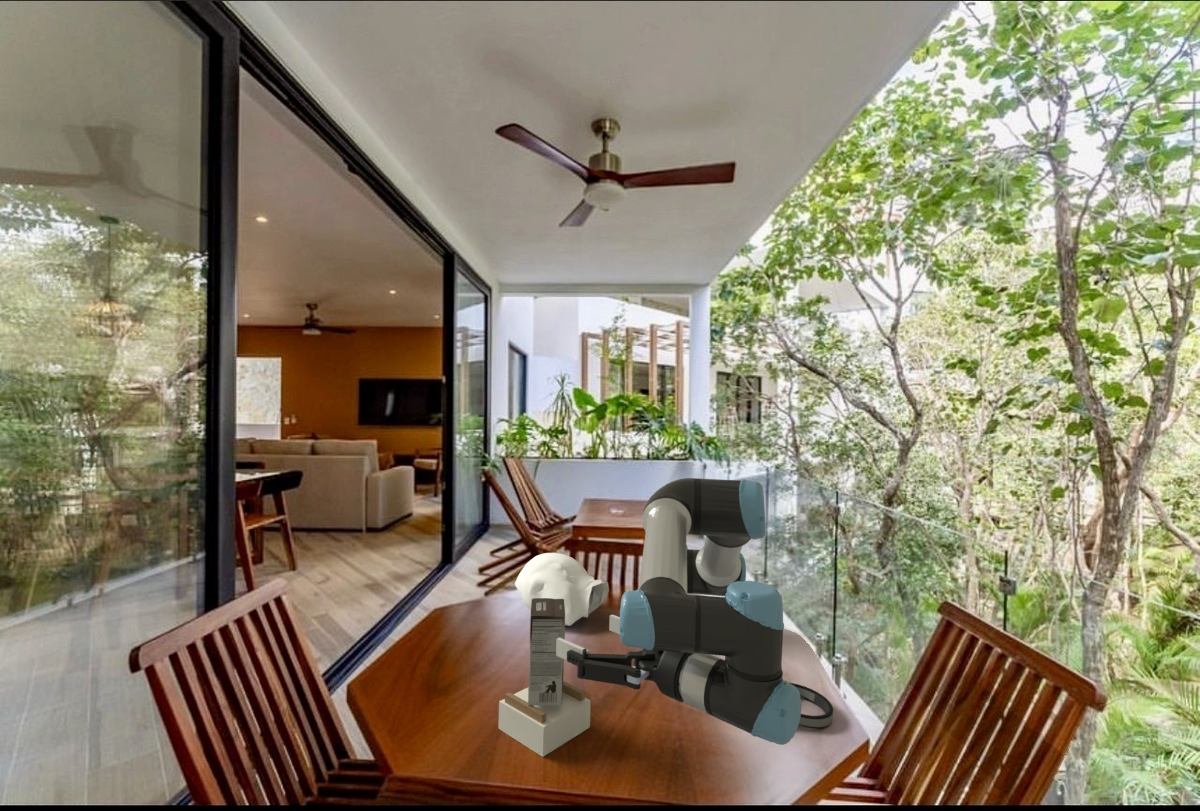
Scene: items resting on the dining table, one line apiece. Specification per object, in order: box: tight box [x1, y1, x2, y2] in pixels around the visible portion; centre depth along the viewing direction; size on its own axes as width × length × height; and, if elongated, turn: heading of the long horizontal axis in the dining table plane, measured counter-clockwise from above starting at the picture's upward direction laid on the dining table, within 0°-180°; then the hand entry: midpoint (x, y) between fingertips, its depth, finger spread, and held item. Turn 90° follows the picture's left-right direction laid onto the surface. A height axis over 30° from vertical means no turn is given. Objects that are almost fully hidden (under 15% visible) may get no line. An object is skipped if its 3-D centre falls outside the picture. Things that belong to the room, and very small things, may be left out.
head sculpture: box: [514, 552, 610, 627], centre depth 154 cm, size 18×20×25 cm
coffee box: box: [527, 598, 566, 705], centre depth 100 cm, size 9×6×16 cm
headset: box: [789, 682, 834, 730], centre depth 109 cm, size 13×9×19 cm
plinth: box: [497, 680, 591, 758], centre depth 100 cm, size 12×12×6 cm
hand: (585, 633), depth 94 cm, fingers open, 13 cm apart
